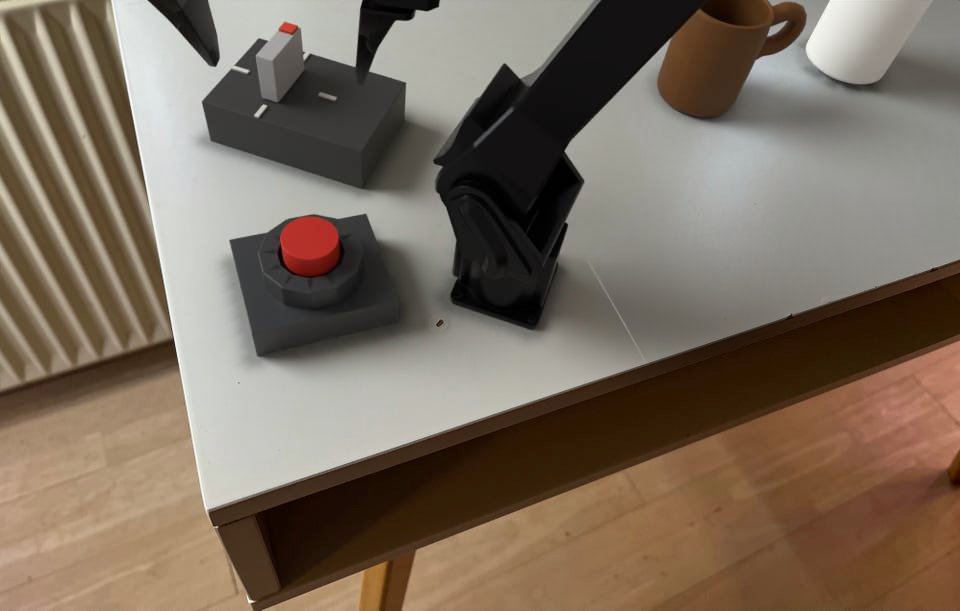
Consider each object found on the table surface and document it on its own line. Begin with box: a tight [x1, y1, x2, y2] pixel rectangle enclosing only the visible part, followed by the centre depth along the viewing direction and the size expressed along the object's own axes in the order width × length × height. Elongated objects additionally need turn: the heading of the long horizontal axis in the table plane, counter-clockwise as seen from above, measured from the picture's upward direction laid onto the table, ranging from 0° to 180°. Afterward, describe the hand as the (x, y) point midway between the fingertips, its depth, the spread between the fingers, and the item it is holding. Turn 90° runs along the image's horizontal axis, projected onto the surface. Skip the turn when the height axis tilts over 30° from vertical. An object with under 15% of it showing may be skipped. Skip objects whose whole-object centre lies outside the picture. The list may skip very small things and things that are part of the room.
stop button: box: [280, 217, 340, 277], centre depth 47 cm, size 4×4×2 cm
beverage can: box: [805, 0, 934, 85], centre depth 71 cm, size 8×8×12 cm
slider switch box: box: [201, 37, 407, 190], centre depth 59 cm, size 13×9×4 cm
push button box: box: [228, 213, 400, 357], centre depth 50 cm, size 10×8×4 cm
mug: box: [656, 0, 808, 118], centre depth 67 cm, size 12×8×9 cm, turn 104°
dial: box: [256, 21, 305, 103], centre depth 56 cm, size 5×1×4 cm, turn 162°
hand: (288, 71), depth 47 cm, fingers open, 9 cm apart
